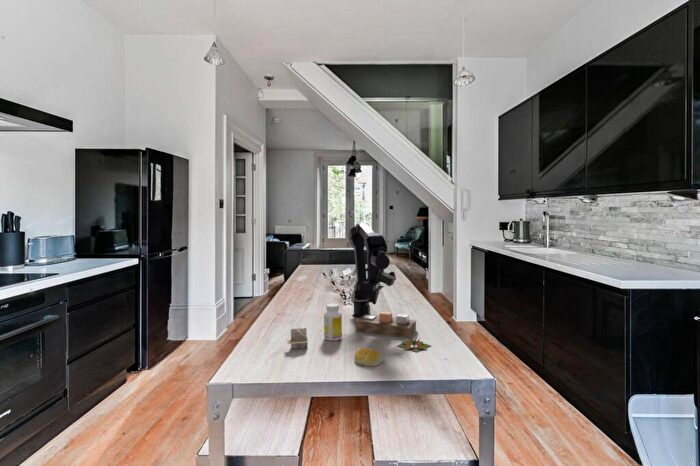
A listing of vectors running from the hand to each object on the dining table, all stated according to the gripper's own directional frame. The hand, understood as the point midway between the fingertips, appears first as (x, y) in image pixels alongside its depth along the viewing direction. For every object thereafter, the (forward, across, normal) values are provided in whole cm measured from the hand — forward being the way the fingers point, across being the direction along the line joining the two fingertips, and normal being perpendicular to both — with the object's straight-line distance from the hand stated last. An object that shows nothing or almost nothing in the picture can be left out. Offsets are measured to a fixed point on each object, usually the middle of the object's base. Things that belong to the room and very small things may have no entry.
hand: (374, 304), depth 157 cm
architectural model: (+11, -31, +16) cm, 37 cm away
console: (+10, 0, -5) cm, 11 cm away
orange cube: (+7, 0, -5) cm, 8 cm away
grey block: (+7, 0, -12) cm, 14 cm away
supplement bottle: (+10, -17, +10) cm, 22 cm away
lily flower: (+11, -12, -20) cm, 26 cm away
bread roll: (+11, -31, -11) cm, 34 cm away
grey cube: (+9, 0, +2) cm, 10 cm away
